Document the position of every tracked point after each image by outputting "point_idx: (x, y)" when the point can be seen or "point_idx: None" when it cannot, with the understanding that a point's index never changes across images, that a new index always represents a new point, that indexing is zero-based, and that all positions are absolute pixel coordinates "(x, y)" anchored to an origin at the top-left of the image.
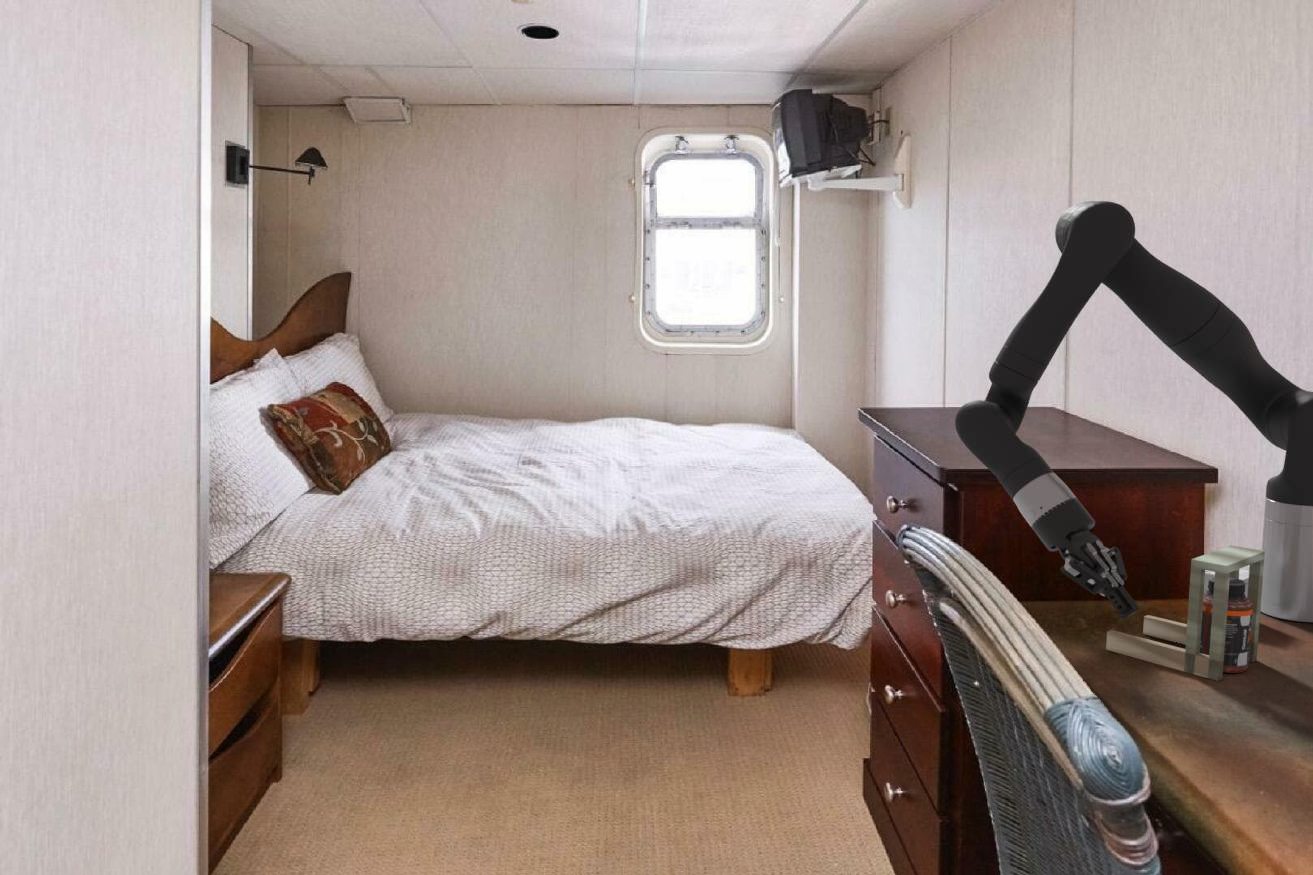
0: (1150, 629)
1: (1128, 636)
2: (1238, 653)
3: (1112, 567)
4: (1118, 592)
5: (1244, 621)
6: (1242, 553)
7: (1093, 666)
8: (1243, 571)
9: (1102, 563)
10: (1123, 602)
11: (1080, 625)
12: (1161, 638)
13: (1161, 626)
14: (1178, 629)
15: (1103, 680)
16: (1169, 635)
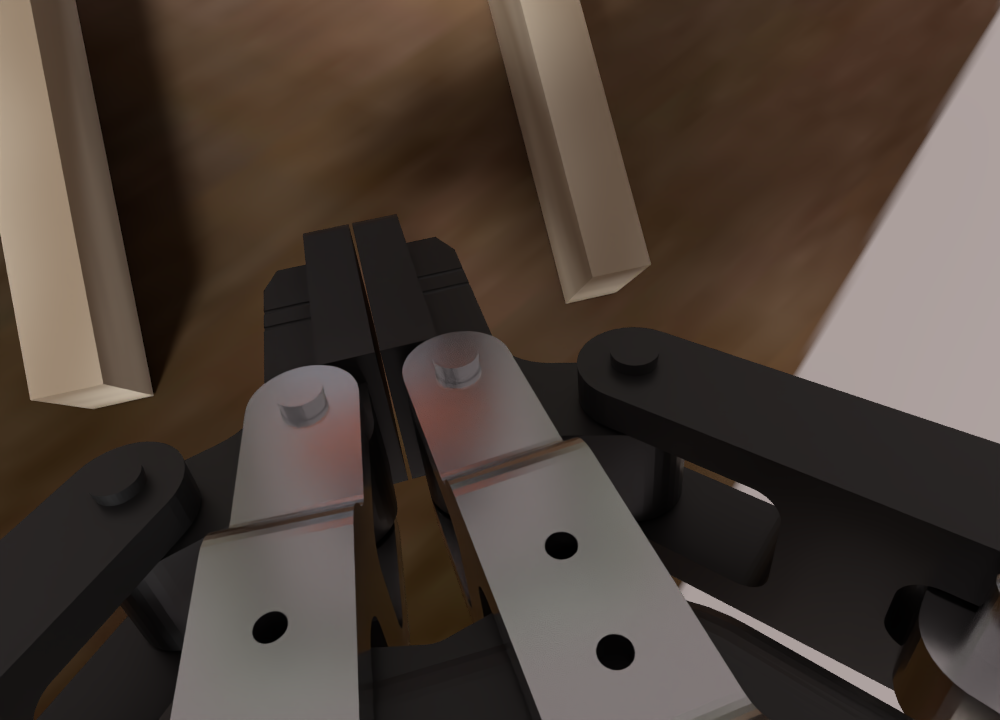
0: (127, 344)
1: (599, 137)
2: None
3: (329, 512)
4: (436, 332)
5: None
6: None
7: (867, 151)
8: None
9: (546, 553)
10: (442, 277)
11: None
12: (128, 280)
13: (97, 261)
14: (71, 145)
15: (955, 10)
16: (105, 223)
